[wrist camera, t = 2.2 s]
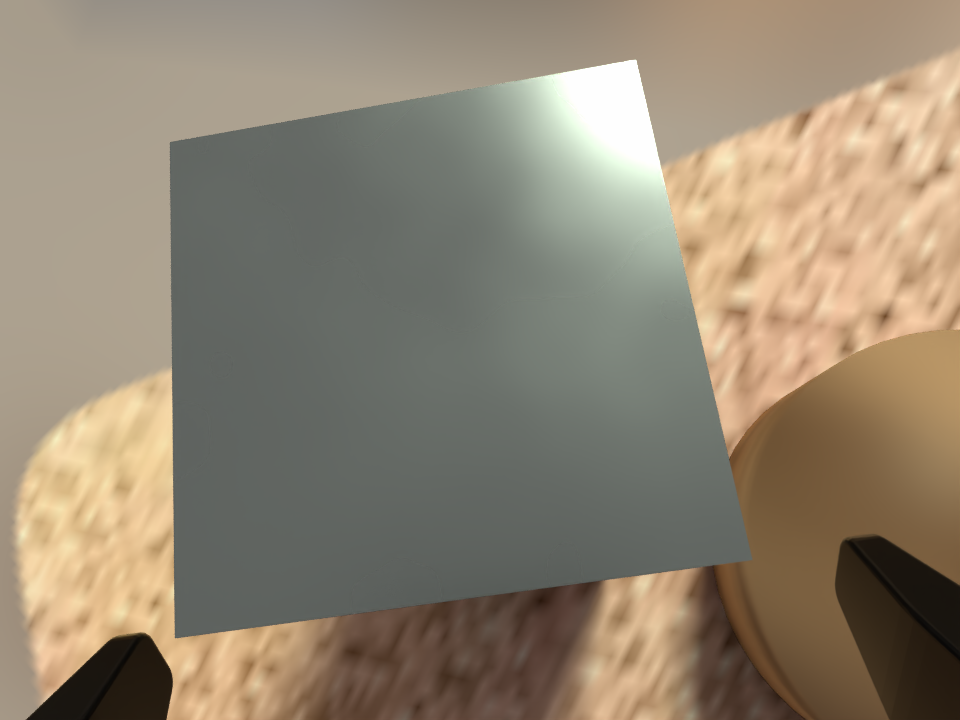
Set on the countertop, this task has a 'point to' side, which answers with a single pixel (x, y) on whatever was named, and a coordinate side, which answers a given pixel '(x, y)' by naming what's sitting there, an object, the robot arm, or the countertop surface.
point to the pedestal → (842, 510)
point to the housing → (436, 358)
